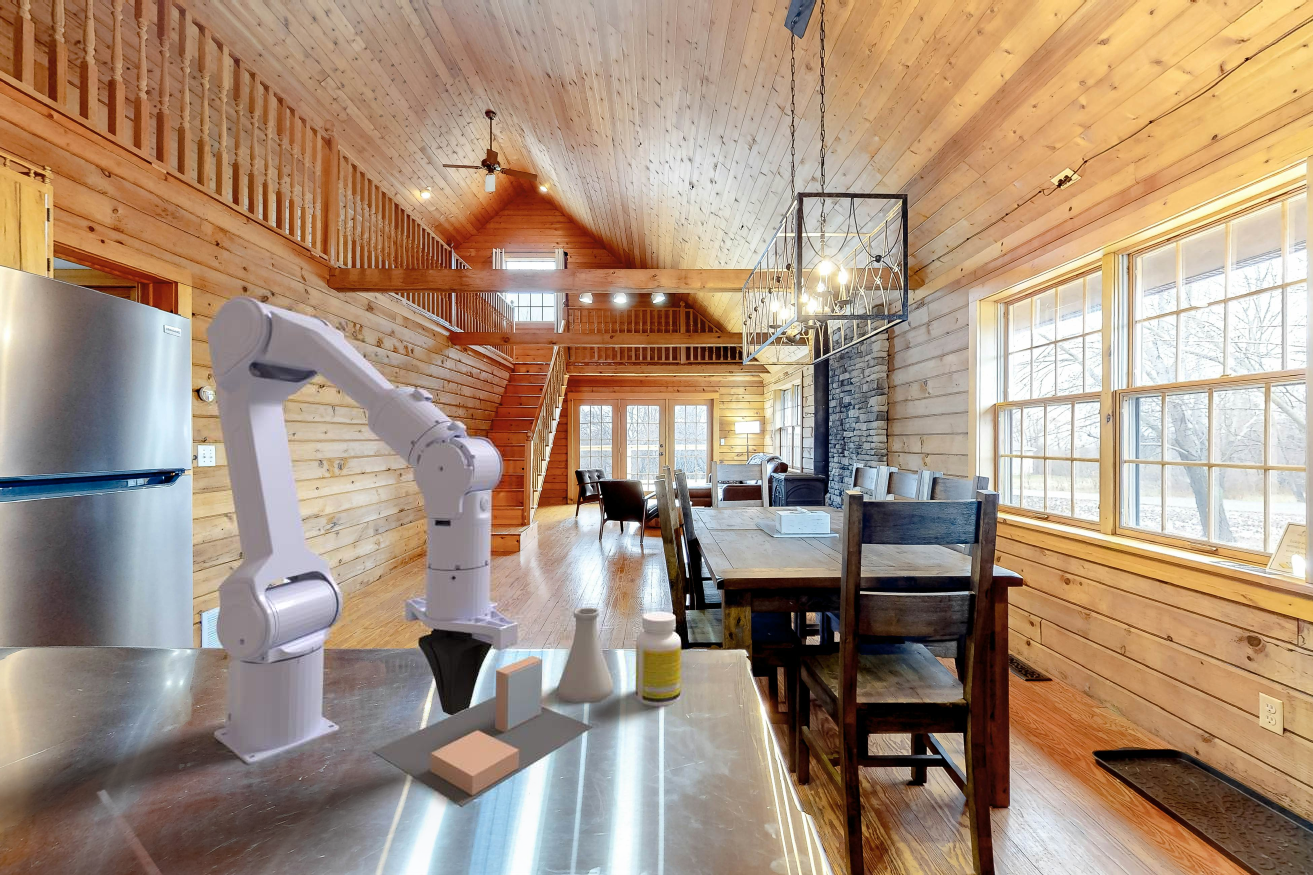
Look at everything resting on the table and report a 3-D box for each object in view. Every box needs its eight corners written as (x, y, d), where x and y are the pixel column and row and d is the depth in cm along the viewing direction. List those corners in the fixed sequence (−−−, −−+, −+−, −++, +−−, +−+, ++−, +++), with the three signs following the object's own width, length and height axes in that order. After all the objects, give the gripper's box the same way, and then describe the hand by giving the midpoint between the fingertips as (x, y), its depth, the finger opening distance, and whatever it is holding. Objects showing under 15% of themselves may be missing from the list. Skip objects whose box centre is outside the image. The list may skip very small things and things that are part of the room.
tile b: (495, 727, 57) (496, 670, 58) (531, 709, 61) (532, 655, 62) (505, 732, 56) (506, 673, 57) (542, 714, 60) (542, 659, 61)
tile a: (430, 752, 49) (472, 775, 46) (477, 730, 54) (519, 749, 50) (430, 771, 49) (472, 796, 46) (477, 747, 54) (518, 768, 50)
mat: (372, 755, 53) (372, 750, 53) (505, 695, 66) (505, 692, 66) (462, 810, 45) (462, 805, 45) (592, 730, 58) (593, 726, 58)
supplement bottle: (689, 701, 65) (690, 617, 65) (651, 713, 62) (652, 625, 62) (663, 685, 69) (664, 607, 70) (626, 695, 66) (627, 613, 67)
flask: (605, 710, 63) (606, 621, 63) (545, 703, 64) (546, 617, 64) (621, 683, 70) (622, 604, 70) (567, 678, 71) (568, 600, 71)
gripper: (544, 566, 51) (542, 714, 51) (449, 549, 59) (447, 676, 59) (480, 581, 45) (478, 747, 45) (386, 560, 54) (383, 700, 53)
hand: (456, 709), depth 52 cm, fingers closed
